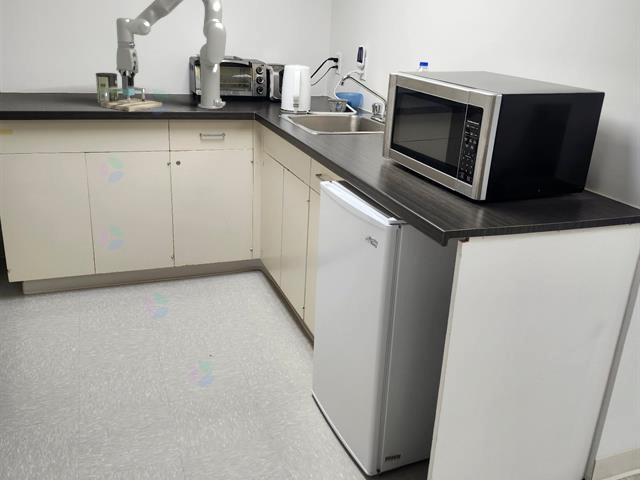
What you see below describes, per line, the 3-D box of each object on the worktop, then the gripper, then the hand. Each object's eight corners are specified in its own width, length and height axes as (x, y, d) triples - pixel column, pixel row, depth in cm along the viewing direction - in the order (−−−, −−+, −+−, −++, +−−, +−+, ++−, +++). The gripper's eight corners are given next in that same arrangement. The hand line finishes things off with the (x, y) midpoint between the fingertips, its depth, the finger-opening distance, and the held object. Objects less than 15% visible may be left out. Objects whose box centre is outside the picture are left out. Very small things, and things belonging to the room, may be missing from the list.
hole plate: (162, 106, 297) (162, 102, 296) (129, 111, 277) (129, 107, 276) (134, 102, 304) (134, 98, 303) (101, 106, 284) (100, 102, 284)
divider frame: (146, 101, 297) (145, 88, 295) (116, 105, 280) (116, 91, 278) (134, 99, 300) (133, 86, 298) (104, 103, 283) (103, 90, 281)
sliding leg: (135, 102, 289) (134, 75, 285) (128, 103, 285) (127, 76, 280) (129, 101, 291) (128, 75, 286) (122, 102, 286) (120, 75, 282)
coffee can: (118, 100, 306) (116, 72, 301) (119, 103, 297) (117, 75, 292) (97, 100, 302) (95, 72, 297) (97, 103, 293) (95, 74, 288)
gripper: (144, 46, 278) (146, 86, 285) (118, 44, 285) (121, 83, 291) (133, 47, 272) (135, 87, 278) (107, 44, 278) (109, 84, 285)
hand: (128, 84), depth 285 cm, fingers closed on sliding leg, 3 cm apart
